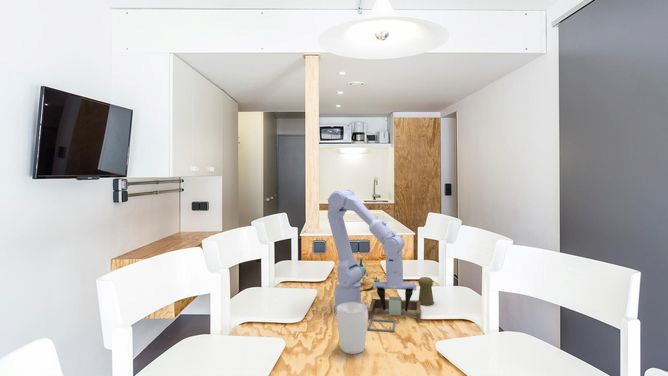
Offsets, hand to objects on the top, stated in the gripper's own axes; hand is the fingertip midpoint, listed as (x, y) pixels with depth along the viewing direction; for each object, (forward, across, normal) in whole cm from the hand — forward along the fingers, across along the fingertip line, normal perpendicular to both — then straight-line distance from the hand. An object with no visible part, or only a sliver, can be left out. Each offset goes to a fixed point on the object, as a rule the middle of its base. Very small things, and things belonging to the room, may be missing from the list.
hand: (395, 309), depth 129 cm
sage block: (+1, 0, 0) cm, 1 cm away
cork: (+3, +10, +12) cm, 16 cm away
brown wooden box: (+3, 0, -1) cm, 3 cm away
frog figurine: (+3, -16, +32) cm, 35 cm away
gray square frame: (+3, -4, -12) cm, 13 cm away
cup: (+3, -10, -26) cm, 28 cm away
